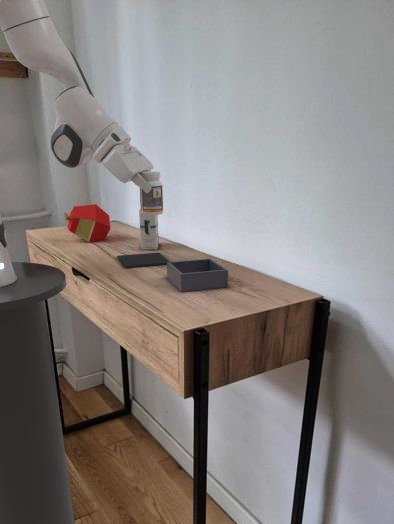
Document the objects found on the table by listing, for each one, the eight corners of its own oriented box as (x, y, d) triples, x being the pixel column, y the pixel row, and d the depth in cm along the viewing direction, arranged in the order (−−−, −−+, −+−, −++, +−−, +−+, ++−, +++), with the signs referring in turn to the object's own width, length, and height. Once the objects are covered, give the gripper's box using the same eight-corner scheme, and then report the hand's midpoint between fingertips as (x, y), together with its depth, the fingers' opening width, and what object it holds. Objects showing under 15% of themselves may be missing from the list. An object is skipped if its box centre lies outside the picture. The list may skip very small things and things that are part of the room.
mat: (126, 268, 125) (126, 266, 125) (117, 257, 135) (117, 255, 135) (170, 264, 129) (170, 262, 128) (158, 254, 139) (158, 252, 139)
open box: (181, 291, 107) (181, 274, 105) (167, 278, 117) (166, 262, 115) (227, 287, 110) (228, 270, 109) (210, 274, 120) (210, 258, 118)
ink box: (143, 243, 151) (141, 204, 146) (159, 243, 151) (157, 204, 146) (140, 249, 143) (138, 208, 139) (157, 250, 143) (155, 209, 139)
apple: (110, 249, 153) (63, 236, 146) (102, 243, 164) (57, 231, 157) (120, 211, 151) (72, 196, 144) (111, 208, 161) (66, 194, 154)
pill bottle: (167, 214, 122) (167, 172, 118) (150, 216, 118) (148, 173, 114) (153, 211, 126) (152, 170, 122) (135, 213, 122) (134, 171, 118)
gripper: (118, 153, 127) (155, 193, 130) (90, 157, 109) (133, 204, 112) (134, 135, 125) (171, 176, 127) (107, 136, 107) (151, 184, 109)
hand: (153, 189), depth 119 cm, fingers closed on pill bottle, 6 cm apart
